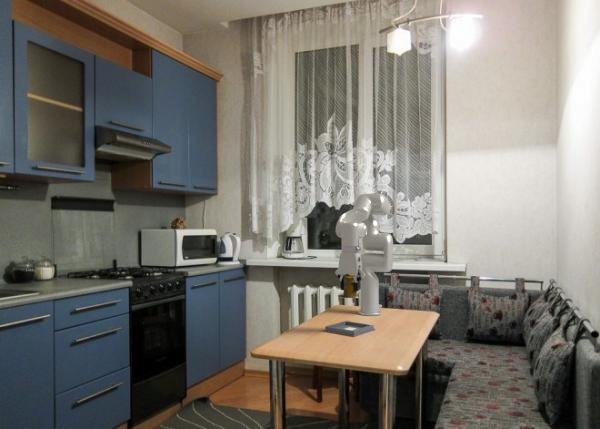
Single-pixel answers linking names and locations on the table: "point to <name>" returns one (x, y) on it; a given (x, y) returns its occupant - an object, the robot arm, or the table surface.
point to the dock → (349, 328)
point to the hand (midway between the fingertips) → (349, 290)
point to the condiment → (349, 287)
